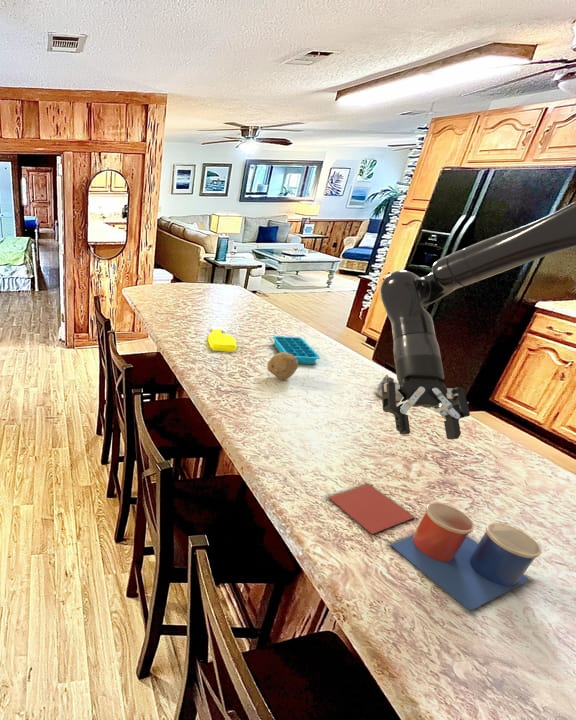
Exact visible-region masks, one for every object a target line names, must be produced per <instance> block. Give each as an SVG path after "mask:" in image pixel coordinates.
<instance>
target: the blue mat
mask: <svg viewBox="0 0 576 720" xmlns="http://www.w3.org/2000/svg"><path fill="white" fill-rule="evenodd" d="M478 543H479V542H476V541H475V540H473V538H471V537H469V535H468V536H467V538H466V539H465V541H464V543H463V544H462V546H461V548H460V549H459V551H458V553H457V554H456V556H455V558H454V559H453V560H452V561H450V562H443V561H438V560H435V559H433V558H431V557H429V556H427V555H425V554H424V553H423V552H421V551H420V550H419V549H418V548H417V547H416V546H415V544H414V542H413V535H412V536H409V537H407V538H404V539H402V540H399V541H397V542H395V543H392V544H390V547H392V549H394V550H395V551H396V552H398V553H399V554H400V555H401V556H402V557H403V558H405V559H406V560H407V561H409V563H411V564H412V565H413V566H415V567H416V569H418V570H419V571H421V572H422V573H423V575H426V576H427V577H428V578H429V579H430V581H433V582H434V583H435V584H436V585H437V586H439V587H440V588H441V589H442V590H443V591H444V592H445V593H447V594H448V595H449V596H450V597H451V598H453V599H454V600H455V601H456V602H458V603H459V604H460V605H461V606H463V607H464V608H465V609H466V610H468V611H469V612H471V611H473V610H475V609H477V608H479V607H481V606H483V605H485V604H486V603H489V602H490V601H492V600H494V599H496V598H498V597H500V596H502V595H503V594H505V593H507V592H509V591H511V590H513V589H515V588H517V587H518V586H519V587H520V586H521V585H522V584H525V583H526V582H528V581H530V578H529V577H527V576H525V574H523V575H522V577H521V578H520V579H519V581H518V582H517V583H516V585H514V586H503V585H499V584H496V583H494V582H492V581H490V580H488V579H486V578H485V577H483V576H482V575H481V574H479V573H478V572H477V571H476V570H475V569H474V568H473V567H472V565H471V563H470V560H469V559H470V556H471V555H472V553H473V551H474V550H475V548H476V547H477V545H478Z"/></svg>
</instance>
